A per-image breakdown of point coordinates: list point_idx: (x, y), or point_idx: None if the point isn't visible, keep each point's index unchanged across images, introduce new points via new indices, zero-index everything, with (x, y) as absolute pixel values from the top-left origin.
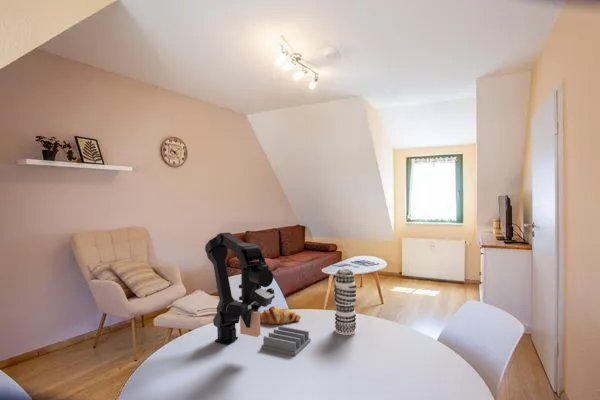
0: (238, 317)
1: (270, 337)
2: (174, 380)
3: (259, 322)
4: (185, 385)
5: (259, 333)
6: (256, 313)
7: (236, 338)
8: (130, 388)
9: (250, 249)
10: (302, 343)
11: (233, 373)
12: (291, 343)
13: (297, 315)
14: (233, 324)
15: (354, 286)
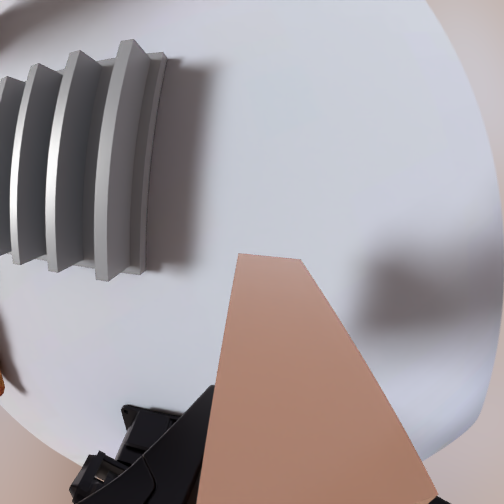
0: (107, 480)
1: (97, 229)
2: (448, 400)
3: (258, 317)
4: (471, 361)
5: (255, 260)
6: (423, 502)
7: (133, 409)
8: (461, 433)
9: None
10: (61, 81)
11: (415, 273)
12: (130, 62)
13: None
14: (126, 464)
15: None
